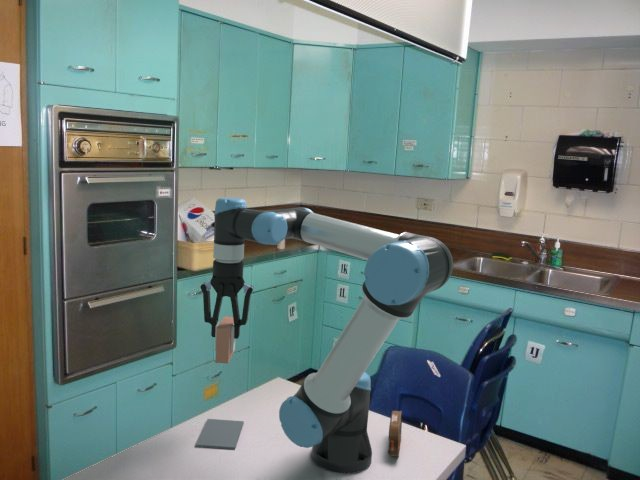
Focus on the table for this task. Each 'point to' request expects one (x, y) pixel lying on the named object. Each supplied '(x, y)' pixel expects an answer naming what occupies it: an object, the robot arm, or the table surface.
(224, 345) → the block
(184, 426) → the table surface
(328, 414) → the robot arm
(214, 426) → the mat
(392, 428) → the tin
